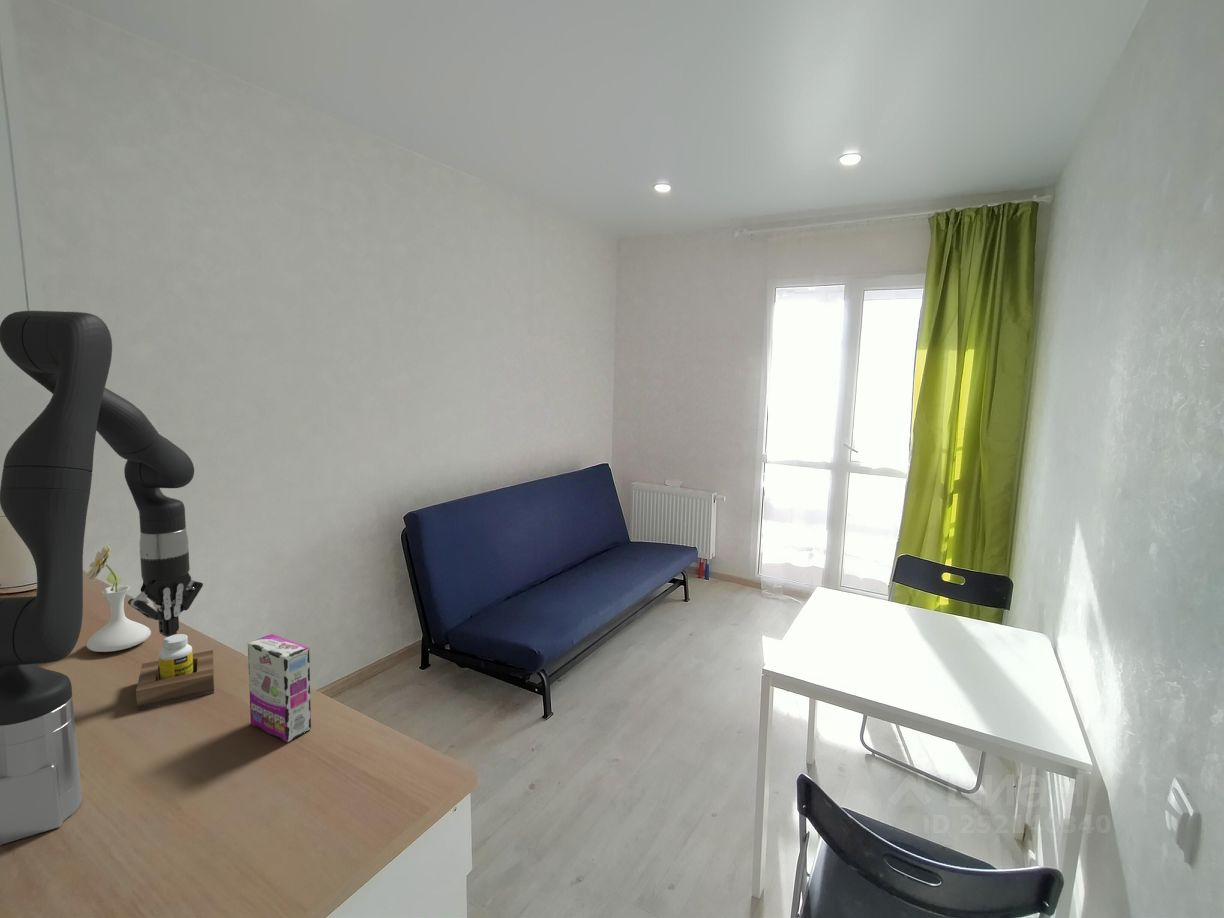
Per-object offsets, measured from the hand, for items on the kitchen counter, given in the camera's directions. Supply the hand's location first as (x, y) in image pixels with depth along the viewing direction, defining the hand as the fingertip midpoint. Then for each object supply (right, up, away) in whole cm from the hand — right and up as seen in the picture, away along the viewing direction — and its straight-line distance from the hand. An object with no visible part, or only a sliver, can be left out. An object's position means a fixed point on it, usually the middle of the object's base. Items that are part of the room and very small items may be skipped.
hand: (169, 634), depth 113 cm
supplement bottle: (0, -11, +2) cm, 11 cm away
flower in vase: (-26, -9, +17) cm, 32 cm away
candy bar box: (+28, -15, -8) cm, 32 cm away
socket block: (0, -12, +3) cm, 12 cm away
